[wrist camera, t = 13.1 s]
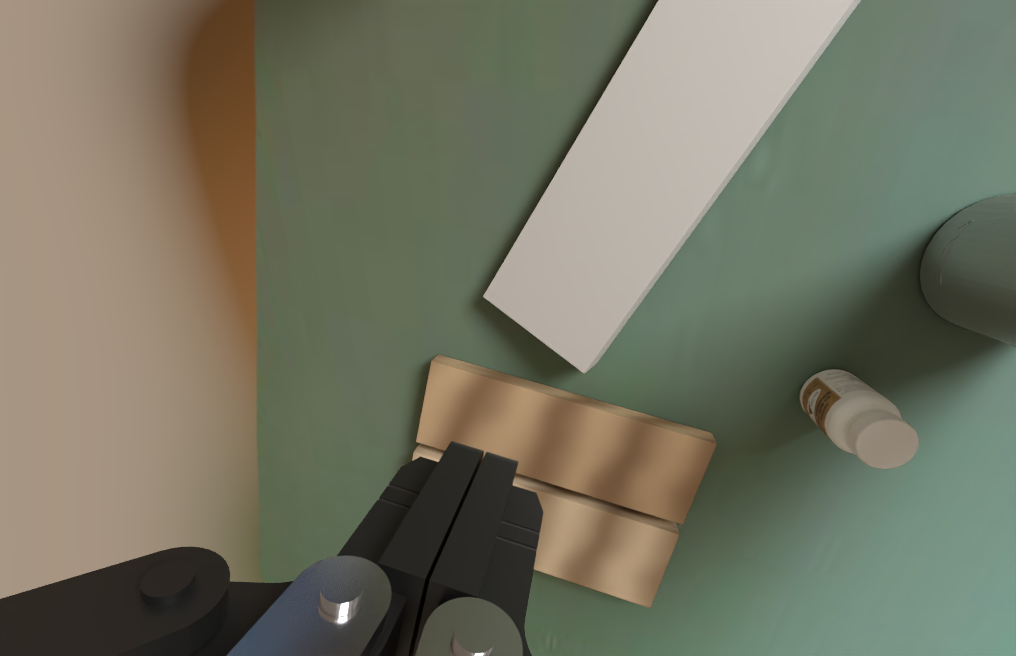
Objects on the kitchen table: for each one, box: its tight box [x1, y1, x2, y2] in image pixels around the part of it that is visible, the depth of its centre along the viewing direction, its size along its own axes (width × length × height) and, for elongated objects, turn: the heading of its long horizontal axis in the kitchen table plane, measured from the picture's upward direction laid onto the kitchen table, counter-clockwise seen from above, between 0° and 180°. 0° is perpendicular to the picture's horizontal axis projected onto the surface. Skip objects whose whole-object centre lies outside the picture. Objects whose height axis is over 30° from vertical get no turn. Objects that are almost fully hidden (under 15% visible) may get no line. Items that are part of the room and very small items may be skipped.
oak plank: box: [412, 443, 679, 608], centre depth 43 cm, size 24×8×2 cm, turn 77°
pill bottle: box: [800, 369, 919, 469], centre depth 33 cm, size 4×4×8 cm
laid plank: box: [416, 354, 717, 525], centre depth 41 cm, size 24×8×2 cm, turn 77°
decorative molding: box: [483, 0, 861, 373], centre depth 33 cm, size 34×5×10 cm
